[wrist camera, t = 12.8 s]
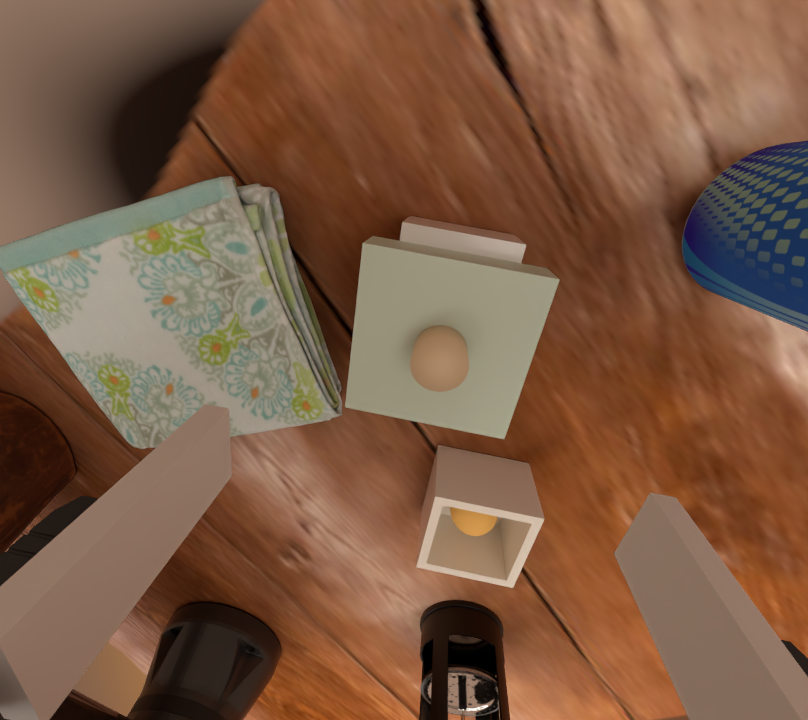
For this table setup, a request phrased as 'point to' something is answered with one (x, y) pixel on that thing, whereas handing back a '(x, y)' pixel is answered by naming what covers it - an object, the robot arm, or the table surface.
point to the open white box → (484, 493)
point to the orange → (472, 521)
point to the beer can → (755, 233)
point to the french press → (462, 663)
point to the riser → (462, 239)
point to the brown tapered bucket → (28, 465)
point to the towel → (181, 311)
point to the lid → (444, 335)
